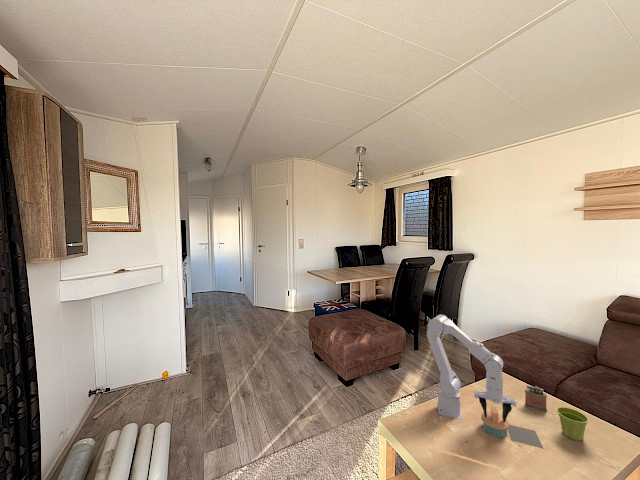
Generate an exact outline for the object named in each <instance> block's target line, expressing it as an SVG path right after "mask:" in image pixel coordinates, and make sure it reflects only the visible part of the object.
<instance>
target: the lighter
mask: <svg viewBox="0 0 640 480" xmlns="http://www.w3.org/2000/svg"><path fill="white" fill-rule="evenodd" d="M524 393H525V394H524V395H525V398H524V399H525V401H524V406H525V407H526V408H528V409H531V410H535V411H538V412H543V413H544V412H545V413H547V412H548V409H547V397H548V396H547V395H548V394H547V393H545V392H544V389H543V388H540V387H538V386H533V385H528V384H526V388H525V389H524Z"/></svg>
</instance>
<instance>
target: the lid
mask: <svg viewBox="0 0 640 480" xmlns="http://www.w3.org/2000/svg"><path fill="white" fill-rule="evenodd" d="M486 412H487V418H486V417H485V416H484V412H482V413H481V415H480V419H481V421H482V423H483V422H484V423H485V424H486V425H488V426H490V427H492V428H494V429H498V430H506V429H507V430H508V428H509V425H510V423H509V421H508V420H507V419H506V422H503V419H502V414H501V415H500V414H499V412H498V408H497V407H496V406H493V405H491V406H490V411H486Z"/></svg>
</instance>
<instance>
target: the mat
mask: <svg viewBox="0 0 640 480" xmlns="http://www.w3.org/2000/svg"><path fill="white" fill-rule="evenodd" d="M507 432H508V434H509V436H510V440H511V441H513V442H515V443H516V442H517V443H521V444H524V445H528V446H530V447H531V446H532V447H535V448H540V449H545V448H544V446H543V444H542V442H541V440H540V438H539V436H538V434H537V431H536V430H533V429H529V428H524V427H521V426H516V425H514V424H509V428H508V429H507Z"/></svg>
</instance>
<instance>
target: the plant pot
mask: <svg viewBox="0 0 640 480" xmlns="http://www.w3.org/2000/svg"><path fill="white" fill-rule="evenodd" d="M556 413H557V414H558V417H559V421H560V425H561V426H560V427H561V431H562V434H563V435H564V436H565V437H568V438H569V439H571V440H574V441H578V442H580V441H582V440H584V437H585V430H586V425H587V424H588V423H589V421H590V419H589V417H588V416H587V415H586V414H584V413H583V412H581V411H578V410H577V409H574V408H571V407H566V406H559V407H556Z"/></svg>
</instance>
